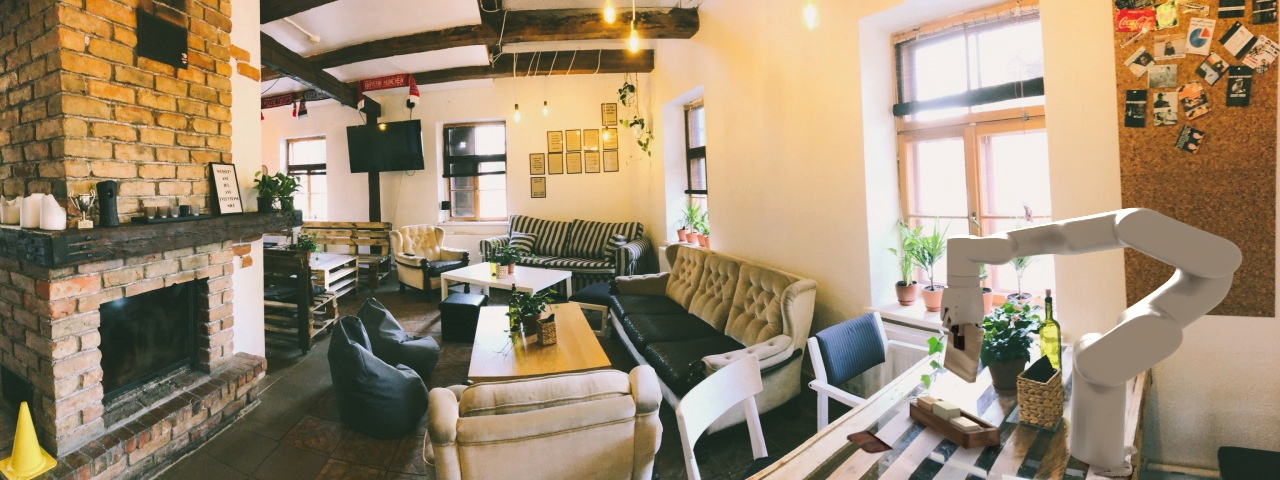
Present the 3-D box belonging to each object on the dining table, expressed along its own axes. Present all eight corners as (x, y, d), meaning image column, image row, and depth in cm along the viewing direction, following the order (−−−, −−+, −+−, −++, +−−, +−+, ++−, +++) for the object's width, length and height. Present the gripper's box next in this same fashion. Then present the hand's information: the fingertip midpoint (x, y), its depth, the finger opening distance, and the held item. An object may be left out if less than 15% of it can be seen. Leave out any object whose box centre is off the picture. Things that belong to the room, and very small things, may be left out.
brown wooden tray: (940, 416, 148) (940, 398, 147) (1000, 449, 128) (1000, 429, 128) (909, 420, 146) (909, 402, 146) (965, 454, 126) (966, 434, 126)
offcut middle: (945, 425, 140) (945, 400, 139) (960, 433, 135) (960, 408, 134) (932, 426, 139) (933, 402, 138) (947, 435, 134) (947, 409, 133)
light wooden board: (949, 365, 142) (957, 316, 138) (975, 382, 133) (984, 330, 130) (943, 366, 142) (950, 317, 138) (969, 383, 133) (977, 331, 129)
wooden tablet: (918, 417, 146) (949, 427, 137) (919, 425, 146) (949, 436, 137) (843, 434, 138) (869, 446, 129) (844, 442, 138) (870, 455, 129)
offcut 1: (929, 415, 145) (929, 395, 145) (942, 423, 141) (942, 402, 140) (917, 417, 145) (917, 397, 144) (930, 425, 140) (930, 404, 139)
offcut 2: (963, 434, 134) (963, 416, 133) (978, 443, 129) (979, 424, 128) (949, 436, 133) (950, 418, 133) (965, 445, 128) (965, 426, 128)
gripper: (976, 277, 139) (976, 342, 141) (926, 281, 136) (927, 347, 138) (1000, 281, 132) (1000, 349, 133) (948, 286, 129) (948, 355, 130)
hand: (963, 348), depth 136 cm, fingers closed on light wooden board, 1 cm apart
